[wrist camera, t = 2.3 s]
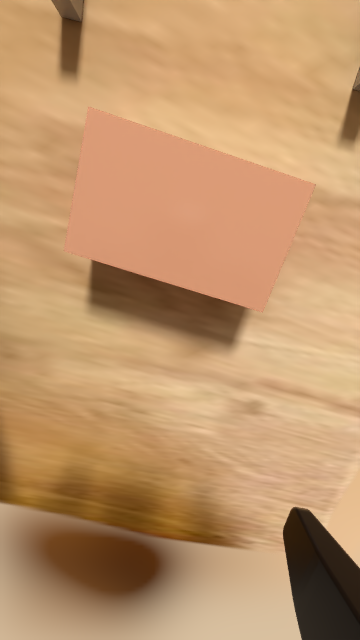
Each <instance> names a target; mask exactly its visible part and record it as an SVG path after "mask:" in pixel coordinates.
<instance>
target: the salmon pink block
mask: <svg viewBox="0 0 360 640" xmlns="http://www.w3.org/2000/svg"><path fill="white" fill-rule="evenodd" d="M315 186H316V184H313V183H310V182H307V181H304V180H301V179H299V178H296V177H293V176H290V175H287V174H284V173H281V172H278V171H275V170H272V169H269V168H266V167H263V166H261V165H258V164H255V163H252V162H249V161H246V160H243V159H240V158H237V157H234V156H231V155H228V154H226V153H223V152H220V151H217V150H214V149H211V148H208V147H205V146H202V145H199V144H196V143H193V142H190V141H188V140H185V139H182V138H179V137H176V136H173V135H170V134H167V133H164V132H161V131H158V130H155V129H152V128H150V127H147V126H144V125H141V124H138V123H135V122H132V121H129V120H126V119H123V118H120V117H117V116H114V115H112V114H109V113H106V112H103V111H100V110H97V109H94V108H91V107H88V112H87V118H86V123H85V129H84V135H83V141H82V147H81V153H80V159H79V165H78V171H77V176H76V182H75V188H74V194H73V200H72V206H71V212H70V218H69V223H68V229H67V235H66V241H65V247H64V251H65V252H68V253H72V254H75V255H78V256H81V257H85V258H88V259H91V260H94V261H98V262H101V263H104V264H107V265H111V266H114V267H117V268H120V269H124V270H127V271H130V272H133V273H137V274H140V275H143V276H146V277H150V278H153V279H156V280H159V281H162V282H166V283H169V284H172V285H175V286H179V287H182V288H185V289H188V290H192V291H195V292H198V293H201V294H205V295H208V296H211V297H214V298H218V299H221V300H224V301H227V302H231V303H234V304H237V305H240V306H244V307H247V308H250V309H253V310H256V311H260V312H263V310H264V308H265V305H266V303H267V301H268V298H269V296H270V293H271V291H272V289H273V286H274V284H275V281H276V279H277V277H278V274H279V272H280V270H281V267H282V265H283V262H284V260H285V258H286V255H287V253H288V250H289V248H290V246H291V243H292V241H293V238H294V236H295V234H296V231H297V229H298V226H299V224H300V222H301V219H302V217H303V215H304V212H305V210H306V207H307V205H308V203H309V200H310V198H311V195H312V193H313V191H314V188H315Z"/></svg>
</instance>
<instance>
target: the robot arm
mask: <svg viewBox="0 0 360 640" xmlns="http://www.w3.org/2000/svg"><path fill="white" fill-rule="evenodd" d="M283 539H284V545H285V552H286V558H287V564H288V570H289V577H290V583H291V590H292V596H293V602H294V607H295V612H296V617H297V621H298V625H299V629H300V634H301V638H302V640H360V568H359V567H358V566H357V565H356V563H355V562H354V561H353V560H352V559H351V558H350V556H349V555H348V554H347V553H346V552H345V551H344V550H343V548H342V547H341V546H340V545H339V544H338V543H337V541H336V540H335V539H334V538H333V537H332V536H331V534H330V533H329V532H328V531H327V530H326V529H325V528H324V526H323V525H322V524H321V523H320V522H319V521H318V519H317V518H316V517H315V516H314V515H313V514H312V513H311V512H310V511H309V510H308V509H305V508H299V507H293V508H292V509H291V511H290V513H289V516H288V518H287V521H286V523H285V525H284V529H283Z"/></svg>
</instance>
